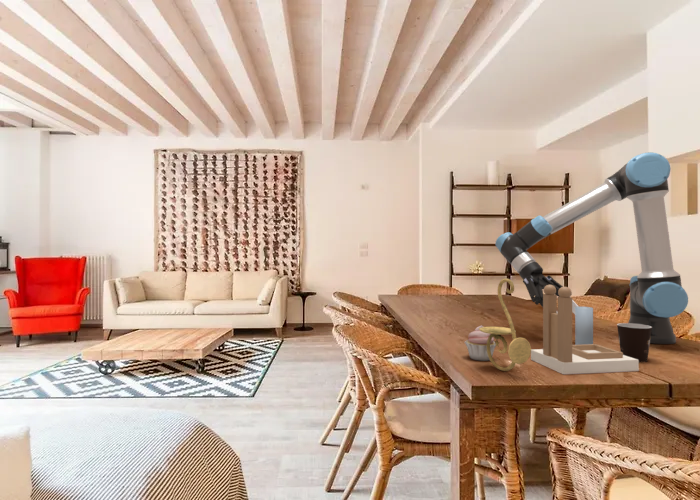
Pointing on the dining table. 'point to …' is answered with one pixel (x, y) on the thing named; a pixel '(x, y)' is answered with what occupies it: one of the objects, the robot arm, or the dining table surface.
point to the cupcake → (479, 345)
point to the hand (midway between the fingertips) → (568, 315)
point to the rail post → (583, 325)
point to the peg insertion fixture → (559, 342)
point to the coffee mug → (634, 340)
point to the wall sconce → (519, 346)
